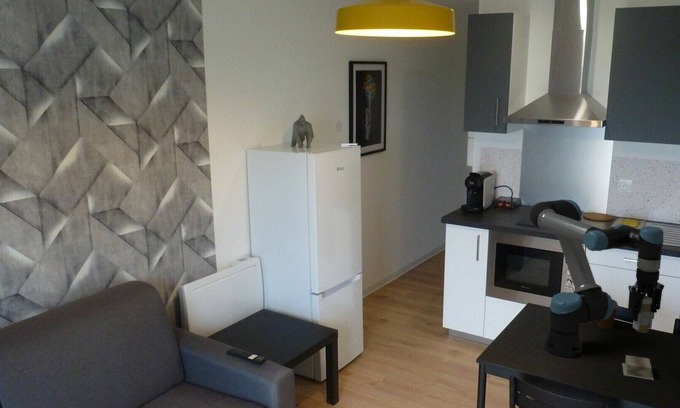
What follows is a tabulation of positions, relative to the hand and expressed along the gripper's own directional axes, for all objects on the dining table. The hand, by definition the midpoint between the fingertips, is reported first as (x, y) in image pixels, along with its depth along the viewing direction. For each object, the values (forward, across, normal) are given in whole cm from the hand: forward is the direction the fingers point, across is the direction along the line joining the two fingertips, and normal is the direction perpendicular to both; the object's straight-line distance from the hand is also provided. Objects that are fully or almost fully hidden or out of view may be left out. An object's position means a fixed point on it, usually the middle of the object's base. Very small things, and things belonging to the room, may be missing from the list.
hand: (642, 327), depth 214 cm
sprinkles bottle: (+1, 0, 0) cm, 1 cm away
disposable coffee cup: (+19, +15, +40) cm, 46 cm away
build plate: (+19, 0, 0) cm, 19 cm away
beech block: (+18, 0, 0) cm, 18 cm away
